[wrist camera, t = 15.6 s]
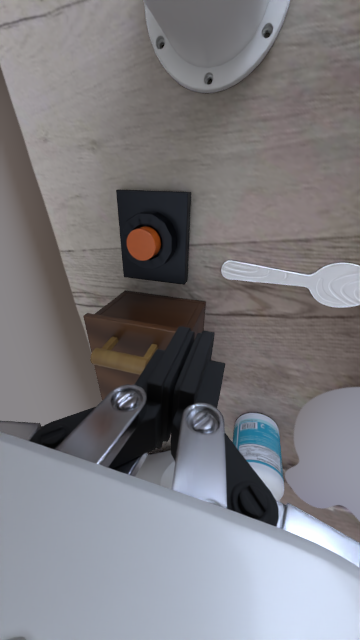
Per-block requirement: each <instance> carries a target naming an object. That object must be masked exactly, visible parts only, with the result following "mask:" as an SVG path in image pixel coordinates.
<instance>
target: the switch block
mask: <svg viewBox="0 0 360 640" xmlns="http://www.w3.org/2000/svg"><path fill="white" fill-rule="evenodd" d="M116 192H117V203H118V215H119V226H120V238H121V249H122V260H123V272H124V277H129V278H137V279H145V280H153V281H161V282H169V283H177V284H185V283H186V282H187V278H188V254H189V230H190V206H191V192H173V191H144V190H116ZM141 227H151V228H153V229H154V230H155V231H156V232H157V233H158V234H159V236H160V239H161V248H160V250H159V252H158V253H157V254H156V255H155V256H153V257H152V258H150V259H148V260H145V261H141V260H137V259H136V258H134V257H133V256H132V255H131V254H130V252H129V251H128V248H127V237H128V235H129V234H130V232H131V231H133V230H135V229H138V228H141Z"/></svg>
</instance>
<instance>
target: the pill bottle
mask: <svg viewBox="0 0 360 640" xmlns="http://www.w3.org/2000/svg"><path fill="white" fill-rule="evenodd" d="M233 444H234V445H235V446H236V448H237V449H238V450H239V452H240V453H241V454H242V455H243V457H244V458H245V459H246V460H247V462H248V463H249V464H250V466H251V467H252V468H253V469H254V471H255V472H256V473H257V475H258V476H259V477H260V478H261V480H262V481H263V482H264V483H265V485H266V486H267V487H268V489H269V490H270V491H271V493H272V494H273V496H274V498H275V499H276V500H277V501H279V500H280V499H281V498H282V496H283V493H284V480H283V470H282V458H281V447H280V436H279V429H278V427H277V425H276V423H275V422H274V421H273V420H272V419H271V418H269V417H267V416H265V415H263V414H259V413H247V414H244V415H242V416H240V417H239V418H238V419H237V420H236V422H235V425H234V435H233Z"/></svg>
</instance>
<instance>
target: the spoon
mask: <svg viewBox="0 0 360 640" xmlns="http://www.w3.org/2000/svg"><path fill="white" fill-rule="evenodd" d="M221 272H222V275H223V276H224V277H225V278H227V279H230V280H232V279H233V280H241V281H243V280H244V281H248V282H249V281H252V282H260V283H262V282H263V283H272V284H274V283H275V284H283V285H294V286H302V287H306V288H308V289H309V290H310V293H311V294H312V295H313V297H314V298H315V299H316V300H317V301H318V302H320V303H321V304H324V305H327V306H329V307H337V308H338V307H340V308H342V307H351V306H353V307H354V306H357V305H360V266H359V265H356V264H352V263H344V262H343V263H333V264H330V265H327V266H324V267H322V268H321V269H319V270H318V271H316V272H315V273H313V274H311V275H306V274H300V273H295V272H290V271H285V270H281V269H273V268H268V267H263V266H259V265H254V264H249V263H242V262H238V261H231V260H230V261H226V262H225V263H224V264H223V266H222V269H221Z"/></svg>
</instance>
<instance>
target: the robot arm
mask: <svg viewBox="0 0 360 640" xmlns="http://www.w3.org/2000/svg"><path fill="white" fill-rule="evenodd" d="M143 1H144V7H145V18H146V24H147V29H148V33H149V38H150V40H151V43H152V46H153V48H154V51H155V54H156V55H157V57H158V59H159V61H160V62H161V64H162V66H163V67H164V69H165V70H166V71H167V72H168V74H169V75H170V76H171V77H172V78H173V79H174V80H175V81H177V82H178V83H179V84H180V85H182V86H184V87H185V88H187V89H189V90H192V91H196V92H199V93H214V92H218V91H222V90H226V89H228V88H230V87H232V86H234V85H236V84H238V83H239V82H240V81H241V80H243V79H244V78H245V77H247V76H248V75H249V74H250V73H251V72H252V71H253V70H254V69H255V68H256V67H257V66H258V65H259V64H260V63H261V61H262V60H263V58H264V57H265V56H266V54H267V53H268V51H269V50H270V48H271V47H272V45H273V43H274V41H275V39H276V37H277V35H278V33H279V31H280V29H281V27H282V24H283V22H284V19H285V16H286V13H287V11H288V8H289V4H290V0H143ZM267 32H268V33H270V36H269V37H268V38H264V35H265V34H266V33H267ZM162 44H164V47H163V48H162V49H161V46H162ZM209 79H212V83H211V84H210V85H208V80H209ZM194 336H195V332H192V331H191V328H188V327H182V326H179V327H178V329H177V331H176V332H175V334H174V336H173V338H172V339H171V341H170V343H169V344H168V346H167V348H166V350H161V349H157V350H156V351H155V353H154V354H153V356H152V357H151V359H150V361H149V362H148V364H147V365H146V367H145V369H144V370H143V372H142V373H141V375H140V376H139V378H138V380H137V381H136V383H135V384H134V385H133V384H126V385H121V386H119V387H117V388H115V389H114V390H112V391H111V392H110V393H109V394H108V395H107V396H106V397H105V398H104V399H103V400H102V401H101V402H100V403H99V404H98V405H97V406H96V407H94V408H91V409H88V410H85V411H82V412H79V413H77V414H74V415H71V416H68V417H65V418H62V419H59V420H56V421H53V422H51V423H49V424H46V425H45V426H41V425H40V423H28V422H13V421H0V640H360V543H358V542H357V541H355V540H353V539H351V538H350V537H348V536H346V535H344V534H343V533H341V532H339V531H337V530H335V529H334V528H332V527H330V526H328V525H327V524H325V523H323V522H321V521H319V520H318V519H316V518H314V517H312V516H311V515H309V514H307V513H305V512H303V511H302V510H300V509H298V508H296V507H295V506H293V505H291V504H289V503H287V505H284V504H283V503H281V502H279V501H277V500H276V499H275V498H274V496H273V494H272V493H271V491H270V490H269V489H268V487H267V486H266V485H265V483H264V482H263V481H262V480H261V478H260V477H259V476H258V475H257V473H256V472H255V471H254V469H253V468H252V467H251V466H250V464H249V463H248V462H247V460H246V459H245V458H244V457H243V455H242V454H241V453H240V452H239V450H238V449H237V448H236V446H235V445H234V444H233V443H232V441H231V440H230V439H229V437H228V436H227V435H226V434H225V428H224V418H223V415H222V414H221V412H220V411H219V410H218V409H217V405H218V400H219V395H220V390H221V384H222V379H223V373H224V368H225V363H221V362H216V361H211V355H212V348H213V341H214V332H208V331H202V333H197V335H196V338H195V340H194ZM170 434H171V455H172V457H173V459H174V461H175V467H174V474H173V481H172V487H171V489H168V488H166V487H163V486H160V485H157V484H154V483H151V482H148V481H145V480H142V479H139V478H136V477H135V476H136V474H137V473H138V471H139V469H140V468H141V466H142V464H143V463H144V461H145V459H146V457H147V453H148V452H149V451H151V450H154V449H155V448H159V449H160V448H161V446H162V443H163V441H166V442H167V441H168V440H169V437H170Z"/></svg>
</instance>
